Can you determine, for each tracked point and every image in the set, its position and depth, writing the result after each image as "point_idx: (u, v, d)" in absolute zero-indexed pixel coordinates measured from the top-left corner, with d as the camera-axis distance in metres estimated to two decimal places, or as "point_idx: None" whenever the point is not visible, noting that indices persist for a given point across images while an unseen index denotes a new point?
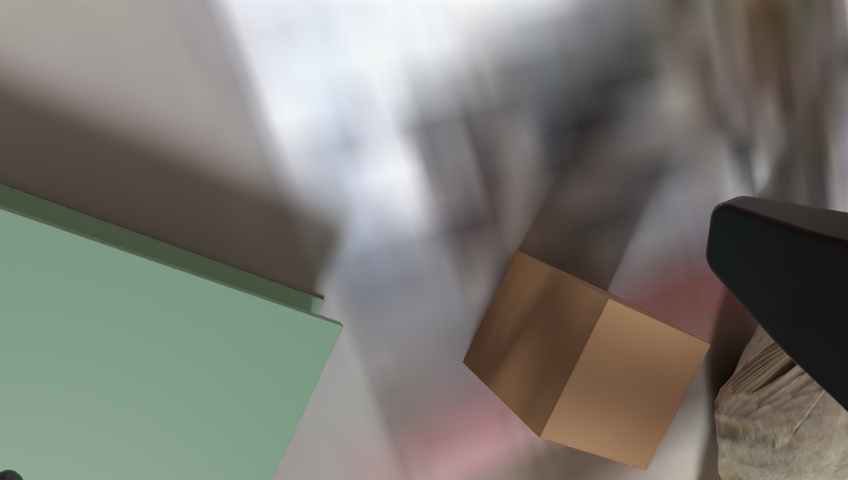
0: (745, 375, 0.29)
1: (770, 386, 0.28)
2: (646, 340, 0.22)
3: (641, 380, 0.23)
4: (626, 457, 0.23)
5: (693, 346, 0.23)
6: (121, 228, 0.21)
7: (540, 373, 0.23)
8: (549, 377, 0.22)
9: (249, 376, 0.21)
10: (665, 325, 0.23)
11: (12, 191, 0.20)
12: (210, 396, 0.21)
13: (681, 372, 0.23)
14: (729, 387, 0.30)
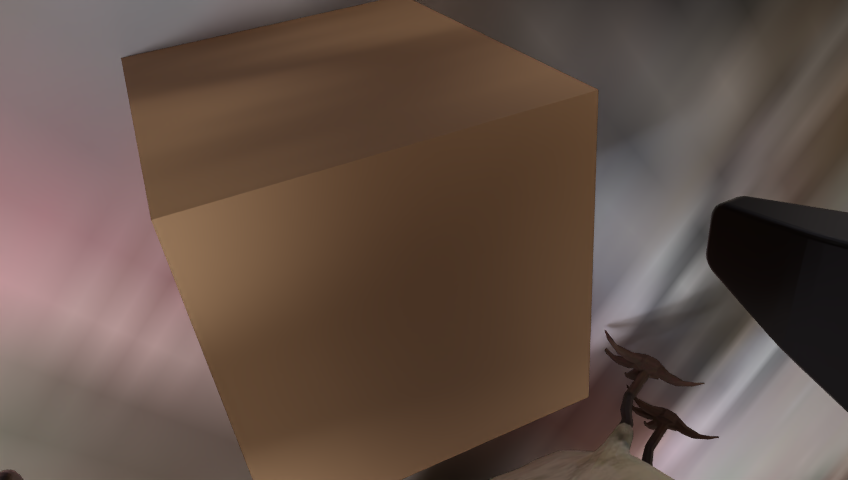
0: None
1: None
2: (544, 267, 0.09)
3: (456, 339, 0.09)
4: (271, 473, 0.09)
5: (572, 370, 0.10)
6: None
7: (289, 124, 0.08)
8: (306, 138, 0.07)
9: None
10: (588, 278, 0.09)
11: None
12: None
13: (513, 398, 0.10)
14: None
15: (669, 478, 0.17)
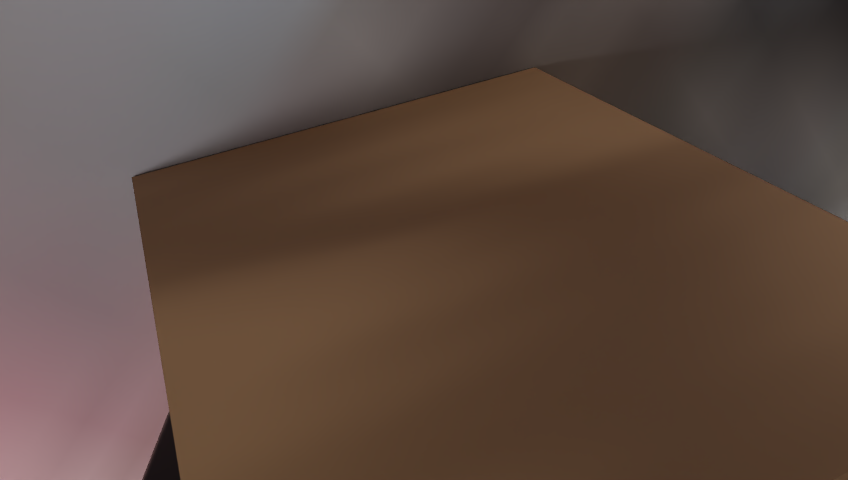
0: None
1: None
2: None
3: None
4: None
5: None
6: None
7: (468, 397, 0.04)
8: (523, 456, 0.04)
9: None
10: None
11: None
12: None
13: None
14: None
15: None
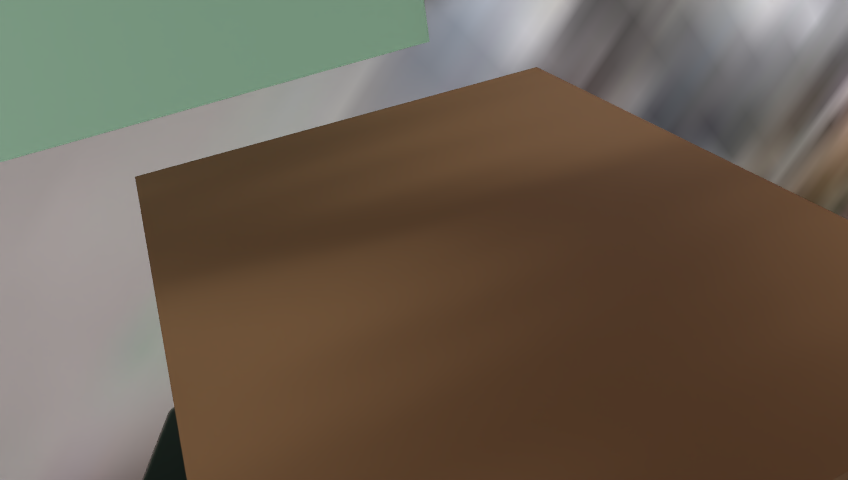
0: None
1: None
2: None
3: None
4: None
5: None
6: None
7: (475, 397, 0.04)
8: (528, 454, 0.04)
9: None
10: None
11: None
12: None
13: None
14: None
15: None
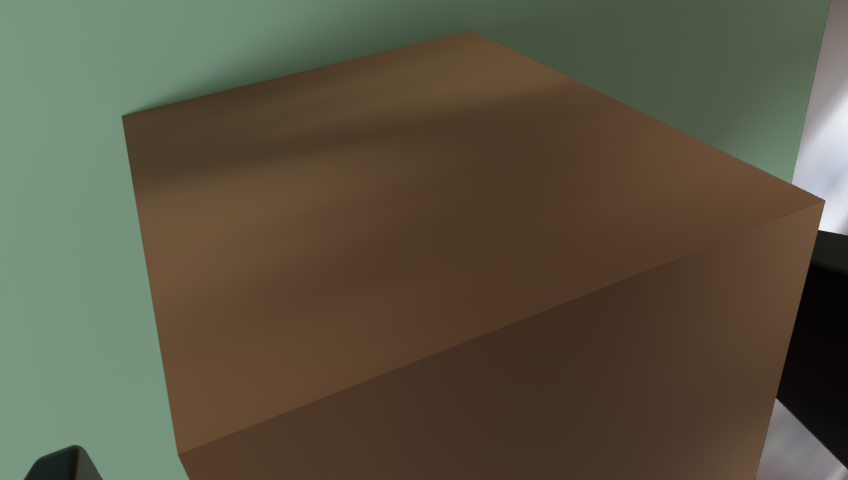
0: None
1: None
2: (713, 429, 0.06)
3: None
4: None
5: None
6: None
7: (370, 247, 0.05)
8: (403, 277, 0.05)
9: None
10: (762, 433, 0.07)
11: None
12: None
13: None
14: None
15: None
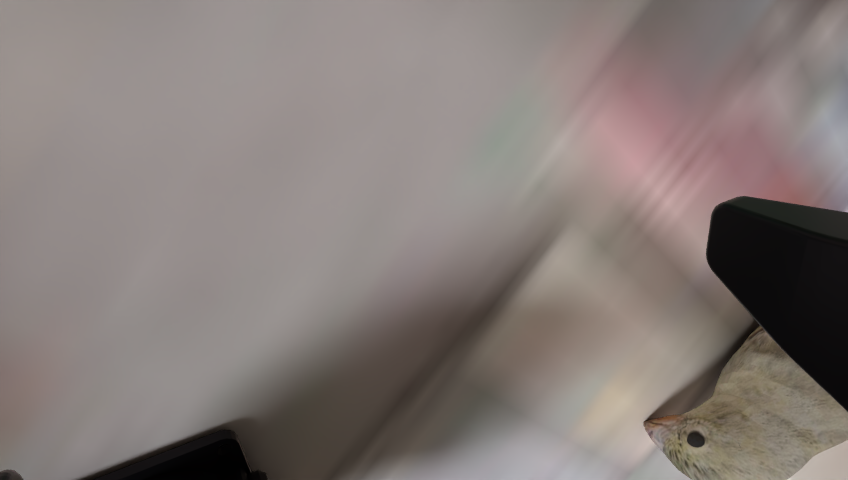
0: None
1: None
2: None
3: None
4: None
5: None
6: None
7: None
8: None
9: None
10: None
11: None
12: None
13: None
14: None
15: None
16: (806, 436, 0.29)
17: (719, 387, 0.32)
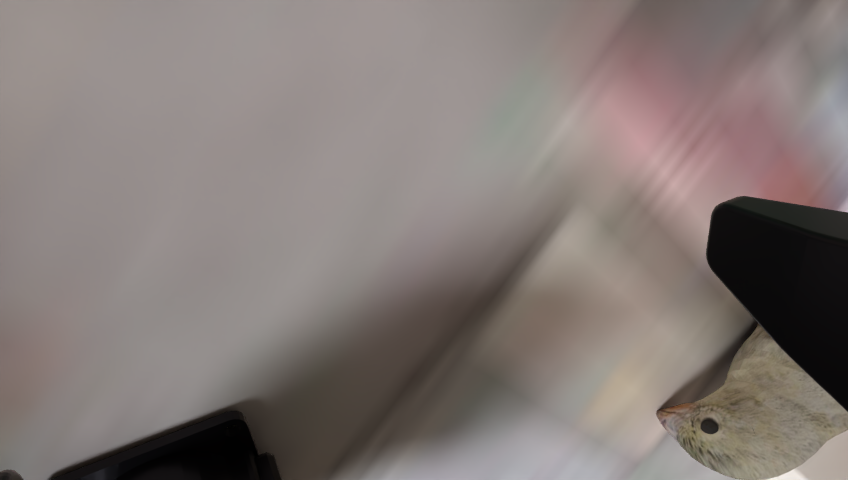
0: None
1: None
2: None
3: None
4: None
5: None
6: None
7: None
8: None
9: None
10: None
11: None
12: None
13: None
14: None
15: None
16: (820, 420, 0.29)
17: (731, 374, 0.32)
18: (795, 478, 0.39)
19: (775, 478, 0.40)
